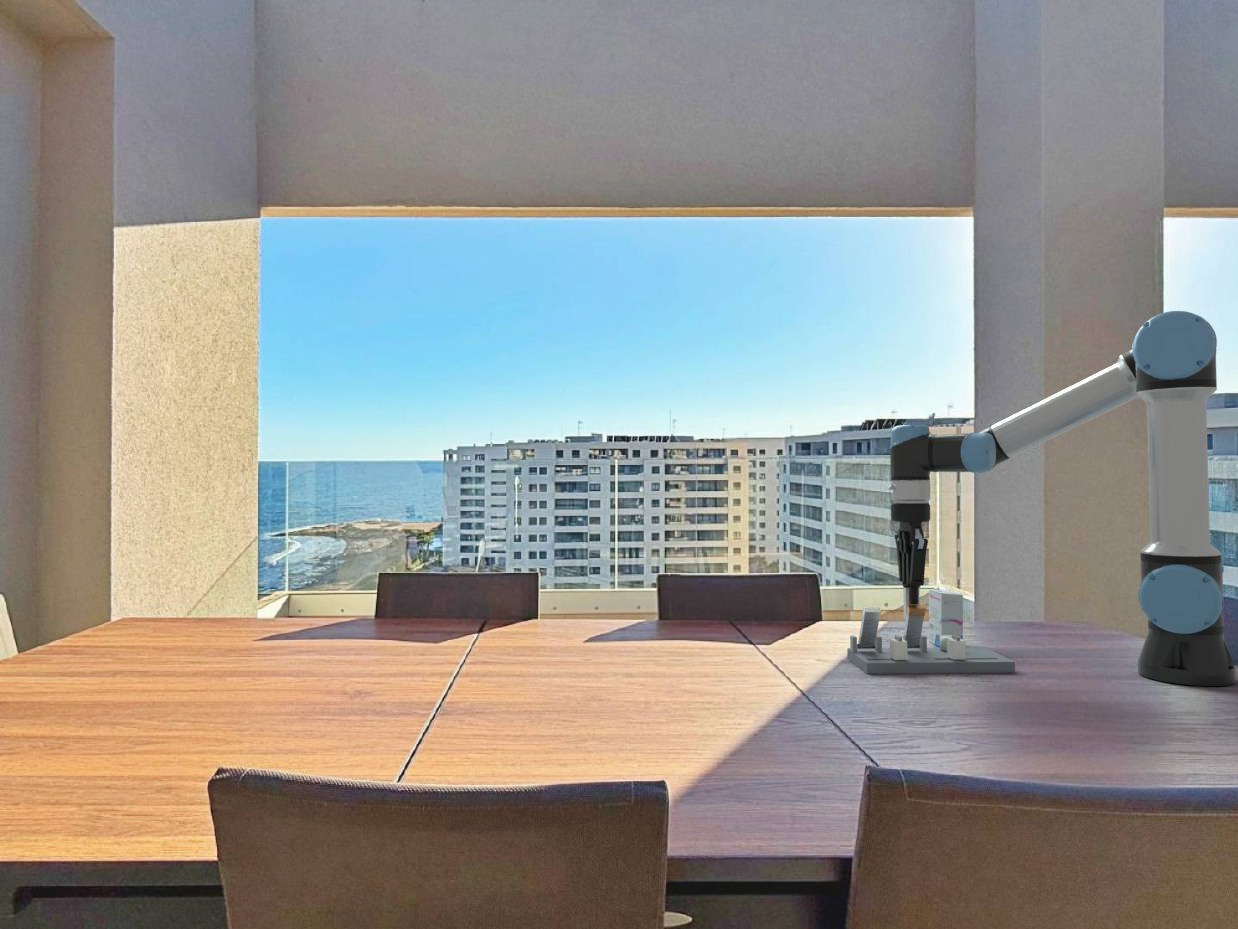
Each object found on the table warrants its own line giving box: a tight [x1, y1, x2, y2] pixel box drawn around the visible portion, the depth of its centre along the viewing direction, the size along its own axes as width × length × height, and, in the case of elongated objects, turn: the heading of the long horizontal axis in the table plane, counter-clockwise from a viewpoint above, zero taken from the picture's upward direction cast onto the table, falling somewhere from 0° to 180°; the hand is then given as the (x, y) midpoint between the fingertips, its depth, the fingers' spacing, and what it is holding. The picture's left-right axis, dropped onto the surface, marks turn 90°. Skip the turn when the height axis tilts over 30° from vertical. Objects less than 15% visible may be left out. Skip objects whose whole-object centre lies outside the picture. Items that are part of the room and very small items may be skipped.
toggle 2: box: [902, 604, 927, 648], centre depth 174 cm, size 3×1×10 cm, turn 90°
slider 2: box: [947, 635, 966, 660], centre depth 168 cm, size 2×3×4 cm
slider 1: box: [889, 635, 907, 660], centre depth 168 cm, size 2×3×4 cm
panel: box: [846, 634, 1016, 675], centre depth 172 cm, size 28×14×5 cm, turn 90°
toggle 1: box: [857, 607, 882, 649], centre depth 174 cm, size 3×1×10 cm, turn 90°
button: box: [939, 635, 961, 651], centre depth 176 cm, size 4×4×2 cm
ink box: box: [928, 588, 964, 648], centre depth 192 cm, size 9×5×12 cm, turn 179°
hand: (911, 619), depth 175 cm, fingers closed
